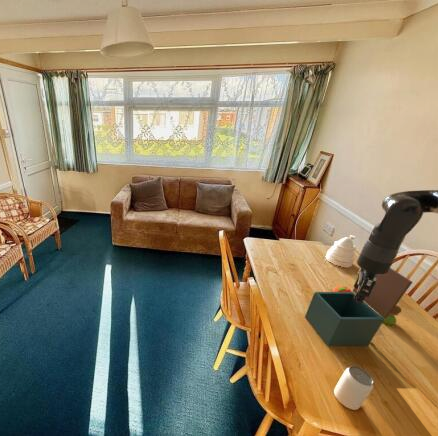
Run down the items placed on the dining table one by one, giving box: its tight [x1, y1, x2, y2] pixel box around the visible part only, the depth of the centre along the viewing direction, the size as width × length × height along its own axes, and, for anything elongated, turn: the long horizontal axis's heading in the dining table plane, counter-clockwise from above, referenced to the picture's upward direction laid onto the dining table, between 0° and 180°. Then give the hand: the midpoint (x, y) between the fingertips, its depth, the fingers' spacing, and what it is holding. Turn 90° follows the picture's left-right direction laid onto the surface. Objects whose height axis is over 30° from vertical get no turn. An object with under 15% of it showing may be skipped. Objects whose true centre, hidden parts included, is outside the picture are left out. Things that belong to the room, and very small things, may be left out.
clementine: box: [333, 285, 353, 292], centre depth 110 cm, size 8×7×7 cm
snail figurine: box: [379, 304, 402, 326], centre depth 96 cm, size 5×6×12 cm
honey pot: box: [325, 234, 357, 268], centre depth 136 cm, size 13×13×18 cm
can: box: [333, 365, 374, 411], centre depth 70 cm, size 6×6×12 cm
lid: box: [352, 267, 413, 318], centre depth 85 cm, size 17×14×1 cm
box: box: [304, 291, 384, 347], centre depth 92 cm, size 16×14×14 cm
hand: (357, 294), depth 79 cm, fingers open, 8 cm apart
